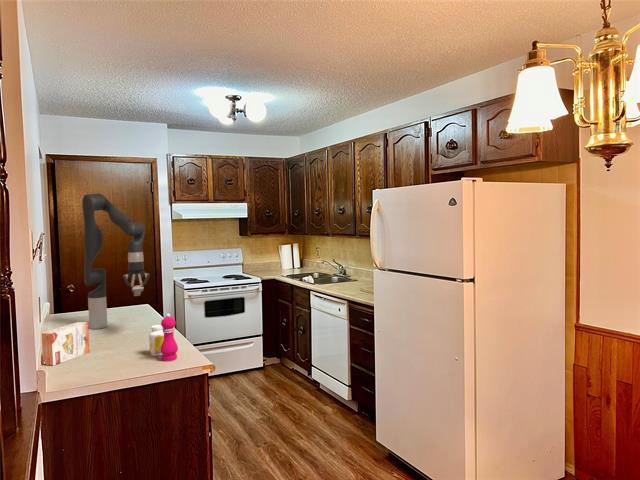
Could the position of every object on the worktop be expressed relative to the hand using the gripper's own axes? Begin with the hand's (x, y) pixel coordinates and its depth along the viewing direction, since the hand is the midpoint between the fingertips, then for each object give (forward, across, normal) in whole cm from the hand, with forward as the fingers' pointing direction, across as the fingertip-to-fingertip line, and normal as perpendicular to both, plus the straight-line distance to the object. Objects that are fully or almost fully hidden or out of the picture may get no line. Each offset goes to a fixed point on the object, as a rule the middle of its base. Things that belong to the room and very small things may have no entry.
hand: (137, 293), depth 248 cm
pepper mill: (+22, -10, +52) cm, 57 cm away
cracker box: (+15, +24, +22) cm, 36 cm away
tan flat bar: (-1, 0, +6) cm, 7 cm away
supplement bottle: (+22, -6, +42) cm, 48 cm away
